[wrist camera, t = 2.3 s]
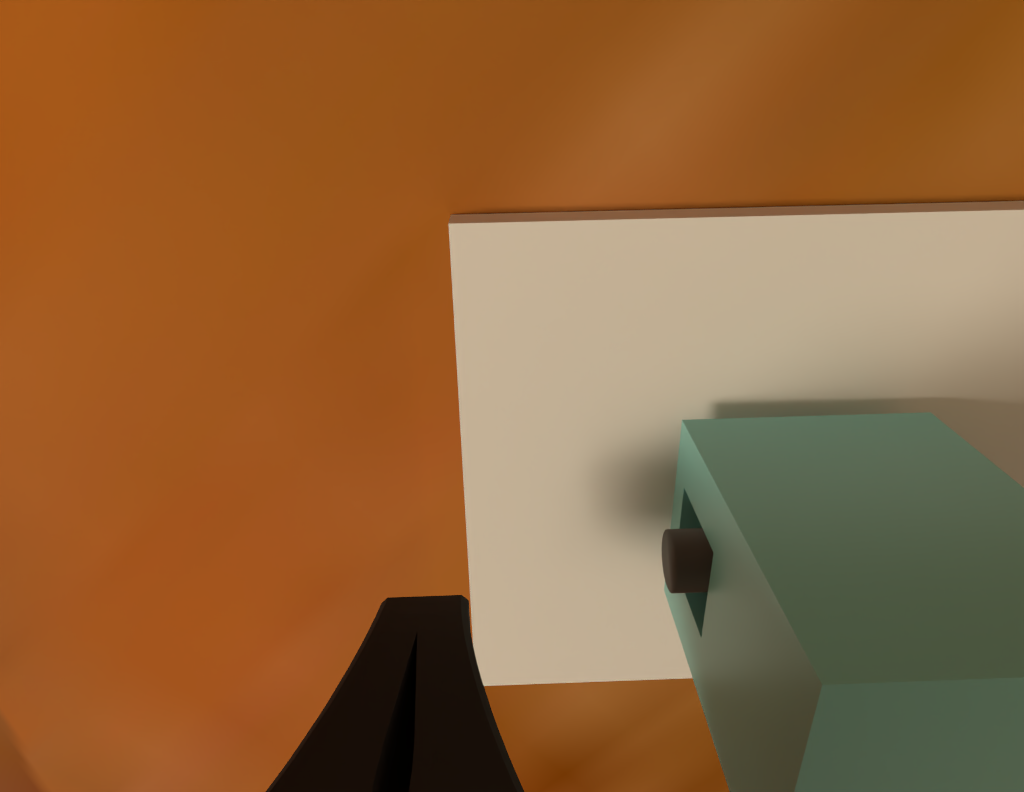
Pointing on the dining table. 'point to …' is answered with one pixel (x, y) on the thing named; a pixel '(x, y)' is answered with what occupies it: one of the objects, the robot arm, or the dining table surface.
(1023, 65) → the dining table surface
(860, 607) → the sleeve
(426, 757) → the robot arm
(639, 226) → the rod stand
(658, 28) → the dining table surface
